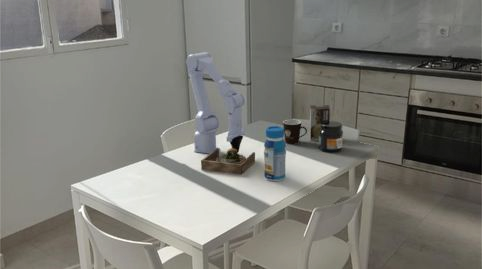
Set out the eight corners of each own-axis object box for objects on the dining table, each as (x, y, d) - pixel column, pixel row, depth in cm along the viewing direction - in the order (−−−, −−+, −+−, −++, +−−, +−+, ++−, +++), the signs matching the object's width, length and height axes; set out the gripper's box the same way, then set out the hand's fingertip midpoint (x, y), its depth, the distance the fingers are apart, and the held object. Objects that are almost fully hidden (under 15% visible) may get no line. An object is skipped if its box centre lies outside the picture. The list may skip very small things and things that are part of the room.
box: (201, 169, 188) (201, 160, 187) (217, 156, 202) (217, 148, 200) (241, 174, 181) (241, 165, 180) (255, 161, 195) (255, 152, 194)
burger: (212, 165, 192) (212, 148, 190) (226, 155, 202) (226, 139, 200) (238, 169, 187) (237, 152, 185) (251, 160, 197) (250, 143, 195)
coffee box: (328, 136, 225) (329, 104, 220) (329, 141, 219) (330, 108, 214) (309, 136, 226) (310, 104, 221) (309, 140, 220) (310, 108, 215)
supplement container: (344, 153, 203) (345, 127, 199) (320, 153, 203) (321, 127, 199) (339, 145, 213) (341, 120, 209) (317, 145, 213) (317, 120, 209)
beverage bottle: (284, 182, 174) (284, 132, 168) (262, 181, 175) (262, 131, 169) (286, 173, 182) (287, 125, 175) (265, 172, 183) (265, 124, 177)
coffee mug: (279, 141, 220) (279, 121, 217) (294, 138, 224) (295, 118, 221) (292, 148, 210) (292, 127, 207) (308, 145, 214) (308, 124, 211)
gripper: (237, 127, 186) (238, 159, 190) (249, 118, 199) (250, 148, 203) (221, 126, 188) (222, 157, 192) (234, 117, 201) (235, 146, 205)
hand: (235, 152), depth 198 cm, fingers closed
